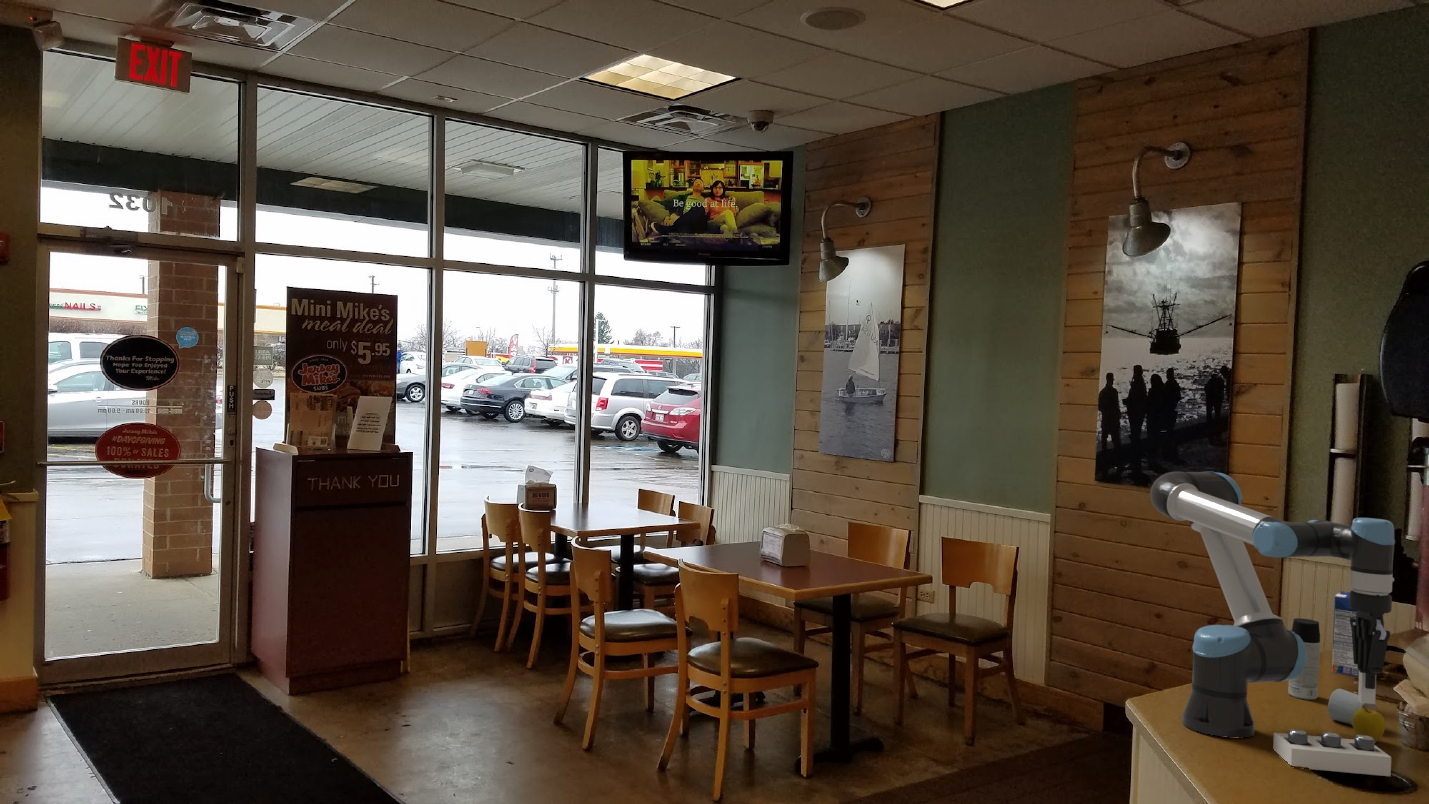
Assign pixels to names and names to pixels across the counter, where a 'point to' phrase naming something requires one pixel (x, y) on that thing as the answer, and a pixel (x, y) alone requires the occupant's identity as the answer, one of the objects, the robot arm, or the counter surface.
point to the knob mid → (1330, 740)
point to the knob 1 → (1297, 737)
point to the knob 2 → (1364, 743)
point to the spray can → (1307, 660)
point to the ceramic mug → (1345, 706)
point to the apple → (1368, 723)
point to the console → (1333, 756)
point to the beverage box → (1343, 637)
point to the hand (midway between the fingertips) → (1366, 702)
